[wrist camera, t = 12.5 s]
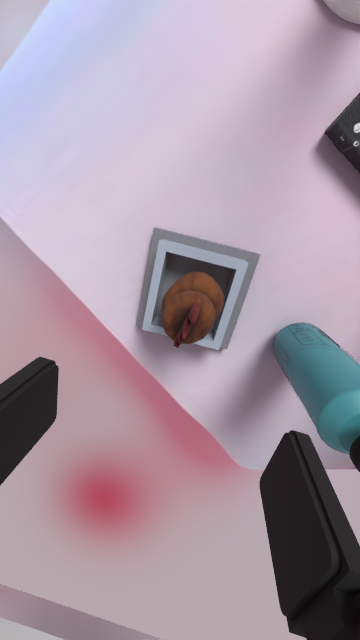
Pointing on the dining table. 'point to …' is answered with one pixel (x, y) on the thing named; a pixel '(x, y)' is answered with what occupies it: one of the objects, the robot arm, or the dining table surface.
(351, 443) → the beverage bottle
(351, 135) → the disk drive
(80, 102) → the dining table surface
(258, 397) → the dining table surface
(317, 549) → the robot arm
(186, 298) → the wooden figurine
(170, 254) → the figurine dock
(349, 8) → the candlestick
